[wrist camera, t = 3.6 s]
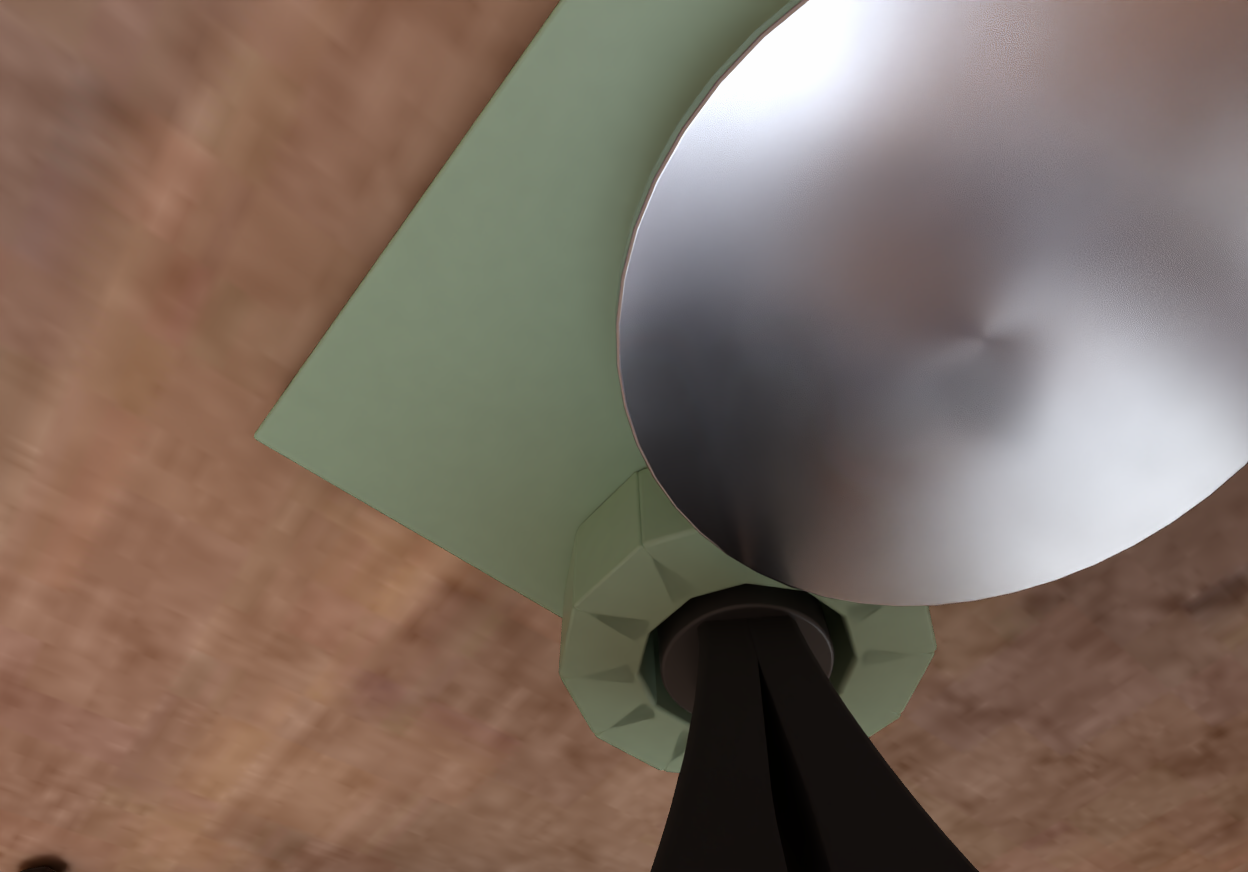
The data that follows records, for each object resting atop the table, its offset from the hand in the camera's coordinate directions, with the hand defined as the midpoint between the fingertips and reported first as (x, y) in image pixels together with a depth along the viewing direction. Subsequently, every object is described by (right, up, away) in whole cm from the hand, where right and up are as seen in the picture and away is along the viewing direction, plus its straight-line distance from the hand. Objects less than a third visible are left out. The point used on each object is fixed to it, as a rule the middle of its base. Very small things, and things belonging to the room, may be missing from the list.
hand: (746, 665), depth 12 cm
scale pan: (+2, +5, -3) cm, 6 cm away
